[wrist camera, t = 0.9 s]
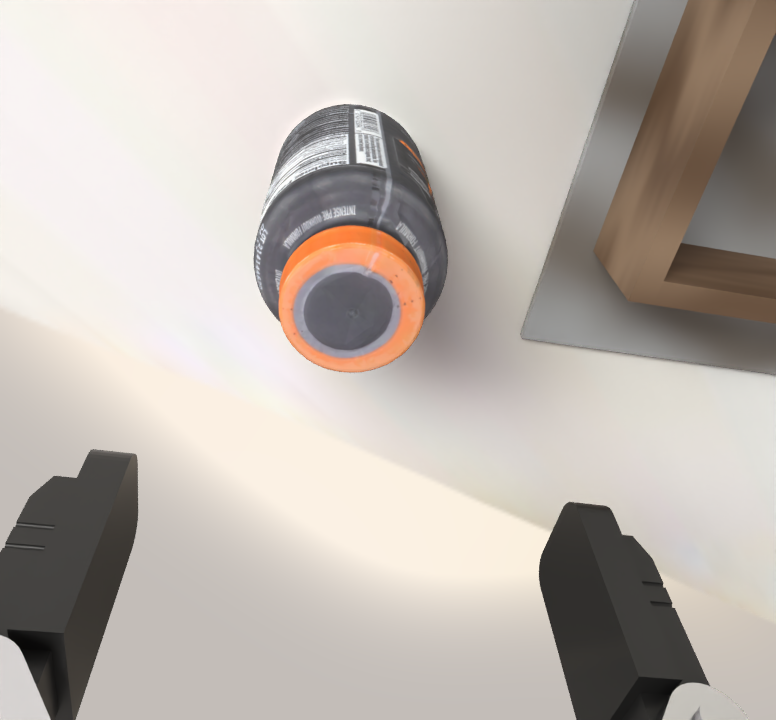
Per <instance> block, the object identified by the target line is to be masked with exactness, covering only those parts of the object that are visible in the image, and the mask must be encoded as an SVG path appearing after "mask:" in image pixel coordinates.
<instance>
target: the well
mask: <svg viewBox="0 0 776 720" xmlns="http://www.w3.org/2000/svg"><path fill="white" fill-rule="evenodd" d="M521 337H522V339H529V340H536V341H543V342H550V343H557V344H564V345H571V346H578V347H585V348H592V349H599V350H607V351H614V352H621V353H628V354H635V355H642V356H649V357H656V358H663V359H670V360H677V361H684V362H691V363H698V364H705V365H712V366H719V367H726V368H733V369H740V370H747V371H754V372H761V373H768V374H775V375H776V0H634V3H633V6H632V9H631V12H630V15H629V18H628V21H627V24H626V27H625V29H624V32H623V35H622V38H621V41H620V44H619V47H618V50H617V53H616V56H615V59H614V62H613V65H612V68H611V70H610V73H609V76H608V79H607V82H606V85H605V88H604V91H603V94H602V97H601V100H600V103H599V106H598V108H597V111H596V114H595V117H594V120H593V123H592V126H591V129H590V132H589V135H588V138H587V141H586V144H585V146H584V149H583V152H582V155H581V158H580V161H579V164H578V167H577V170H576V173H575V176H574V179H573V182H572V185H571V187H570V190H569V193H568V196H567V199H566V202H565V205H564V208H563V211H562V214H561V217H560V220H559V223H558V225H557V228H556V231H555V234H554V237H553V240H552V243H551V246H550V249H549V252H548V255H547V258H546V261H545V264H544V266H543V269H542V272H541V275H540V278H539V281H538V284H537V287H536V290H535V293H534V296H533V299H532V302H531V304H530V307H529V310H528V313H527V316H526V319H525V322H524V325H523V328H522V331H521Z"/></svg>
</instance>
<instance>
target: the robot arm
mask: <svg viewBox="0 0 776 720" xmlns="http://www.w3.org/2000/svg"><path fill="white" fill-rule="evenodd" d="M137 467H138V464H137V456H136V454H132V453H121V452H113V451H103V450H94V449H93V450H91V451H90V452H89V454H88V456H87V458H86V460H85V462H84V464H83V466H82V468H81V470H80V473H79V475H78V477H77V478H69V477H61V476H53V477H52V478H51V479H50V480H49V481H48V482H46V483H45V484H44V485H43V486H42V487H41V488H39V489H38V490H37V491H36V492H35V493H33V494H32V495H31V496H30V497H29V499H28V501H27V503H26V505H25V507H24V509H23V511H22V512H21V514H20V517H19V518H18V520H17V524H16V527H14V528H13V530H12V531H11V533H10V535H9V537H8V539H7V541H6V545H5V548H3V549H2V550H1V552H0V720H75V719H76V716H77V713H78V711H79V708H80V705H81V702H82V699H83V695H84V693H85V689H86V686H87V683H88V680H89V677H90V674H91V671H92V668H93V665H94V662H95V659H96V656H97V653H98V650H99V647H100V644H101V641H102V638H103V635H104V632H105V629H106V626H107V623H108V620H109V617H110V614H111V611H112V608H113V605H114V602H115V599H116V596H117V593H118V590H119V587H120V583H121V581H122V578H123V574H124V571H125V568H126V565H127V562H128V559H129V556H130V553H131V550H132V547H133V543H134V539H135V534H136V528H137V521H138V468H137ZM539 581H540V587H541V591H542V594H543V598H544V602H545V605H546V609H547V613H548V616H549V620H550V624H551V627H552V631H553V634H554V638H555V642H556V645H557V649H558V653H559V657H560V660H561V664H562V668H563V671H564V675H565V679H566V682H567V686H568V690H569V693H570V697H571V701H572V705H573V708H574V712H575V715H576V719H577V720H749V718H748V717H747V715H746V714H745V713H744V711H743V710H742V709H741V708H740V707H739V706H738V705H737V704H736V703H735V702H734V701H733V700H732V699H730V698H729V697H728V696H726V695H725V694H724V693H722V692H720V691H719V690H717V689H715V688H713V687H710V685H709V683H708V681H707V679H706V677H705V674H704V672H703V670H702V668H701V666H700V663H699V661H698V659H697V657H696V655H695V652H694V650H693V648H692V646H691V643H690V641H689V639H688V637H687V634H686V632H685V630H684V628H683V626H682V623H681V622H680V619H679V617H678V615H677V612H676V610H675V608H672V602H671V599H670V597H669V595H668V592H667V590H666V588H663V581H662V579H661V577H660V575H659V572H658V570H657V568H656V566H655V564H654V561H653V559H652V558H651V557H650V555H649V554H648V553H647V552H646V551H645V550H644V549H643V547H642V546H641V545H640V544H639V543H638V542H637V541H636V539H635V538H634V537H633V536H626V535H622V534H621V531H620V529H619V526H618V524H617V522H616V519H615V517H614V515H613V513H612V511H611V509H610V508H609V507H607V506H602V505H592V504H583V503H574V502H569V503H567V504H566V505H565V506H564V507H563V509H562V511H561V514H560V516H559V518H558V520H557V522H556V524H555V527H554V529H553V531H552V533H551V535H550V537H549V540H548V542H547V544H546V546H545V548H544V550H543V553H542V555H541V559H540V565H539Z"/></svg>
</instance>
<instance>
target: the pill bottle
mask: <svg viewBox="0 0 776 720" xmlns="http://www.w3.org/2000/svg"><path fill="white" fill-rule="evenodd" d="M447 264H448V259H447V246H446V240H445V236H444V232H443V229H442V225H441V221H440V218H439V214H438V212H437V208H436V205H435V201H434V198H433V194H432V191H431V188H430V185H429V181H428V177H427V175H426V171H425V167H424V165H423V162H422V159H421V156H420V153H419V151H418V148H417V147H416V145H415V143H414V142H413V140H412V139H411V137H410V136H409V135H408V133H407V132H406V131H405V129H404V128H403V127H402V126H401V125H400V124H399V123H397V122H396V121H395V120H394V119H392V118H391V117H389V116H388V115H386V114H385V113H382V112H380V111H378V110H376V109H373V108H370V107H366V106H362V105H351V104H344V105H336V106H331V107H328V108H324V109H321V110H319V111H317V112H315V113H313V114H312V115H310V116H309V117H307V118H306V119H304V120H303V121H302V122H301V123H299V124H298V125H297V126H296V127H295V128H294V129H293V130H292V132H291V133H290V134H289V136H288V137H287V139H286V140H285V142H284V144H283V146H282V148H281V151H280V154H279V156H278V159H277V163H276V166H275V170H274V174H273V177H272V181H271V184H270V187H269V190H268V194H267V197H266V200H265V203H264V206H263V210H262V217H261V221H260V226H259V230H258V234H257V238H256V242H255V249H254V269H255V275H256V280H257V284H258V287H259V290H260V293H261V295H262V297H263V299H264V301H265V303H266V305H267V306H268V308H269V309H270V311H271V312H272V313H273V315H274V316H275V317H276V318H277V319H278V320H279V321H280V322H281V326H282V328H283V331H284V333H285V335H286V337H287V338H288V340H289V341H290V343H291V344H292V346H293V347H294V348H295V349H296V350H297V351H298V352H299V353H300V354H302V355H303V356H304V357H305V358H306V359H308V360H309V361H311V362H313V363H314V364H316V365H319V366H321V367H323V368H326V369H330V370H334V371H339V372H364V371H369V370H373V369H376V368H379V367H382V366H384V365H387V364H389V363H391V362H392V361H394V360H395V359H397V358H398V357H399V356H401V355H402V354H403V353H405V352H406V351H407V350H408V349H409V347H410V346H411V345H412V343H413V342H414V341H415V339H416V338H417V336H418V334H419V332H420V329H421V327H422V325H423V320H424V319H425V318H426V317H427V316H428V314H429V313H430V312H431V310H432V309H433V307H434V306H435V304H436V302H437V300H438V298H439V296H440V294H441V292H442V289H443V286H444V283H445V278H446V274H447Z"/></svg>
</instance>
